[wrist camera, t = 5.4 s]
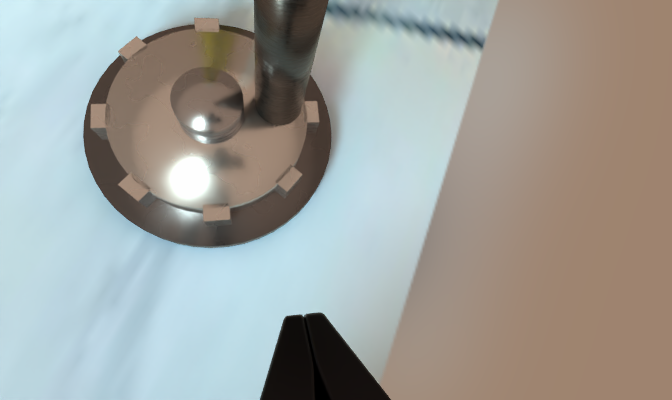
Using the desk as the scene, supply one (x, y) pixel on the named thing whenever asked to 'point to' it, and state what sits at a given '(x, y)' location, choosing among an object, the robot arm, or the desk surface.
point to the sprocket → (215, 111)
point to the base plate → (191, 225)
